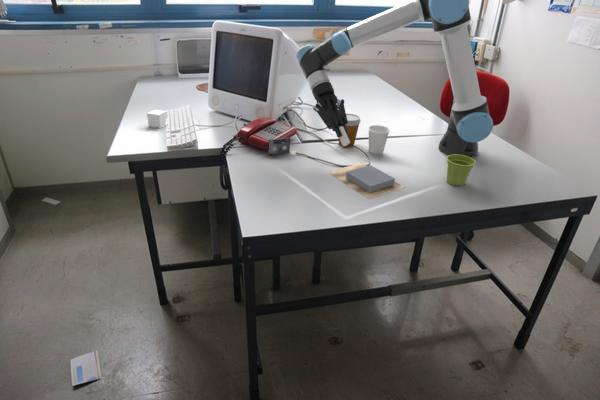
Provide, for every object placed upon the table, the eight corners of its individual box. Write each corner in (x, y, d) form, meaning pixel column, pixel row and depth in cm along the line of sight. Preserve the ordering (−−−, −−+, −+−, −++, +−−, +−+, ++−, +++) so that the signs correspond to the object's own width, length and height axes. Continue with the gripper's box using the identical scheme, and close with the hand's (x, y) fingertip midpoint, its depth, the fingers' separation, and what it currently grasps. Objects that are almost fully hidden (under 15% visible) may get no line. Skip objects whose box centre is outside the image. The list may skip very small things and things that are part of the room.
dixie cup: (389, 151, 164) (393, 127, 159) (381, 158, 158) (385, 134, 153) (369, 146, 168) (373, 123, 163) (361, 153, 162) (364, 129, 157)
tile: (346, 171, 139) (370, 186, 130) (370, 165, 144) (395, 178, 136) (345, 178, 140) (369, 193, 131) (369, 171, 145) (393, 185, 137)
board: (326, 174, 144) (326, 172, 144) (361, 164, 152) (361, 162, 152) (368, 201, 129) (369, 199, 128) (404, 189, 137) (404, 187, 136)
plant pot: (436, 181, 143) (441, 158, 138) (449, 173, 148) (454, 151, 144) (461, 191, 137) (467, 168, 133) (474, 183, 143) (480, 160, 138)
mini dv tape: (288, 151, 161) (288, 136, 158) (289, 152, 160) (289, 138, 157) (268, 153, 158) (268, 138, 155) (269, 154, 157) (269, 140, 154)
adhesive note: (160, 128, 178) (158, 115, 175) (148, 126, 179) (146, 113, 176) (168, 124, 183) (166, 110, 180) (156, 122, 184) (154, 109, 181)
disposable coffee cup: (343, 139, 174) (345, 111, 168) (362, 145, 169) (365, 117, 163) (330, 145, 168) (332, 116, 162) (349, 151, 163) (352, 122, 157)
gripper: (330, 89, 154) (355, 145, 151) (301, 94, 148) (327, 152, 144) (340, 78, 148) (366, 136, 144) (310, 82, 141) (337, 143, 138)
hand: (346, 144), depth 144 cm, fingers closed
